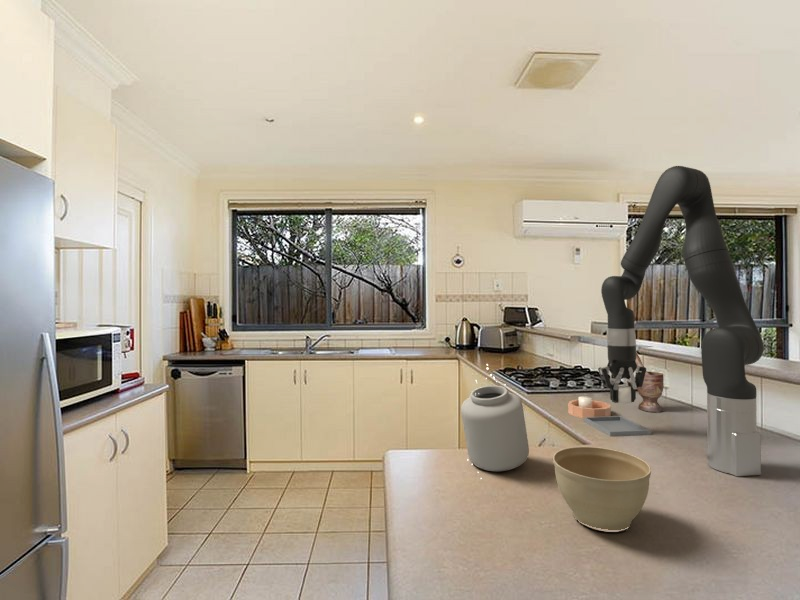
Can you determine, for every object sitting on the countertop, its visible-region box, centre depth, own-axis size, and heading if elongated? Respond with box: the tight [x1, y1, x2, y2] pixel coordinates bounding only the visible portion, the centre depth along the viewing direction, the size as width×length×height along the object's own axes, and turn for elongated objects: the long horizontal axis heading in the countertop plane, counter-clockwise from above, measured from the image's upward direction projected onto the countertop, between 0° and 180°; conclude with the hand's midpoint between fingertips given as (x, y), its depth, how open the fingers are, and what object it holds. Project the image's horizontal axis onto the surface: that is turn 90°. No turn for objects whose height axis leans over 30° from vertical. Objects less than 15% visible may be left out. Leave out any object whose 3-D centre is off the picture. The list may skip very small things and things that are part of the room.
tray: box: [583, 415, 652, 437], centre depth 131 cm, size 15×12×2 cm
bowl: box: [567, 399, 612, 419], centre depth 147 cm, size 13×13×4 cm
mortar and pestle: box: [635, 352, 664, 413], centre depth 155 cm, size 12×9×20 cm
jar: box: [460, 363, 530, 480], centre depth 105 cm, size 19×15×25 cm
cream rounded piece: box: [617, 384, 633, 405], centre depth 127 cm, size 4×4×5 cm
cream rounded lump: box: [578, 395, 593, 408], centre depth 149 cm, size 4×4×5 cm
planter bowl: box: [552, 446, 652, 530], centre depth 79 cm, size 16×16×11 cm
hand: (623, 401), depth 127 cm, fingers closed on cream rounded piece, 4 cm apart
